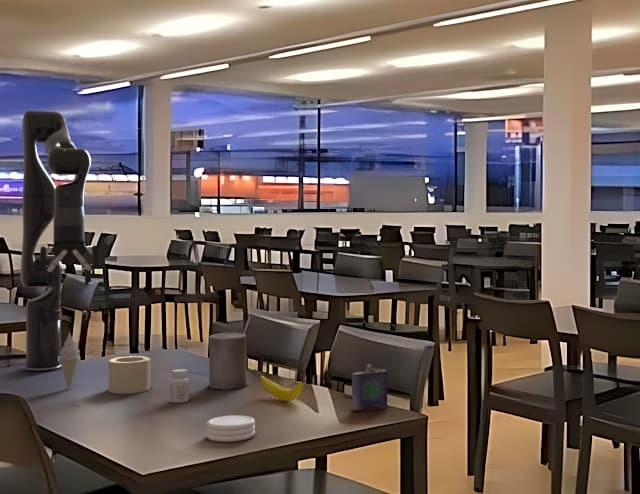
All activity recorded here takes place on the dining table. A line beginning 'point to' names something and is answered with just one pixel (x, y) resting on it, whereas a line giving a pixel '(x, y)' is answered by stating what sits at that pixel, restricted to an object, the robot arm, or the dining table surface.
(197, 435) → the dining table surface
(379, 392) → the flask
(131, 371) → the hollow cream cylinder
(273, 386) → the banana
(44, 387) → the dining table surface
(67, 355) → the grey tall pointed piece
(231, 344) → the pillar candle
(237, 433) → the coaster
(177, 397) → the pill bottle
